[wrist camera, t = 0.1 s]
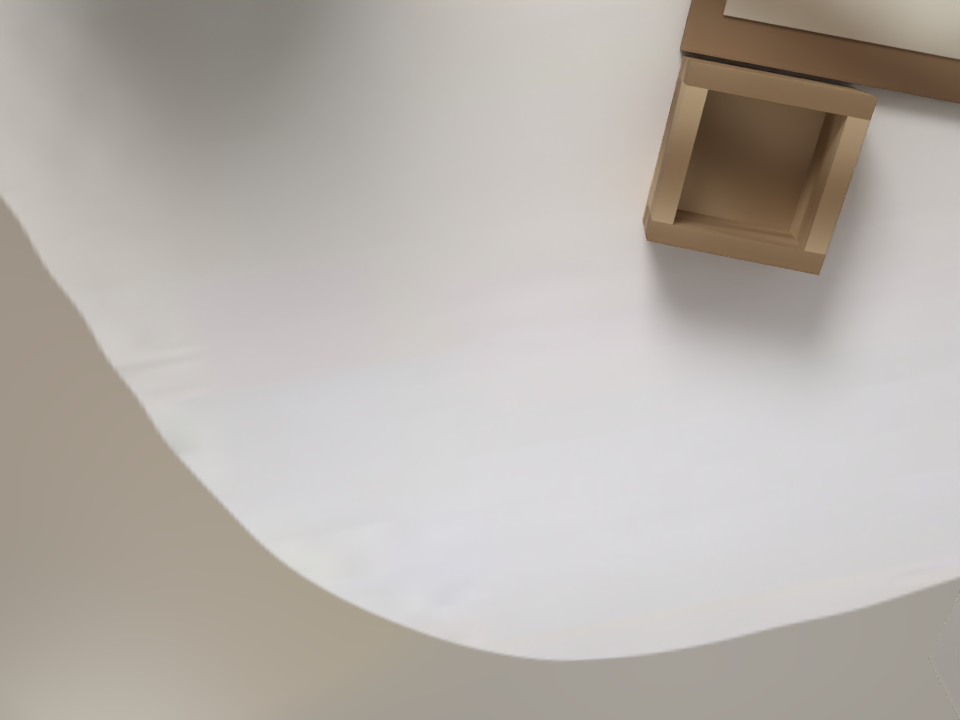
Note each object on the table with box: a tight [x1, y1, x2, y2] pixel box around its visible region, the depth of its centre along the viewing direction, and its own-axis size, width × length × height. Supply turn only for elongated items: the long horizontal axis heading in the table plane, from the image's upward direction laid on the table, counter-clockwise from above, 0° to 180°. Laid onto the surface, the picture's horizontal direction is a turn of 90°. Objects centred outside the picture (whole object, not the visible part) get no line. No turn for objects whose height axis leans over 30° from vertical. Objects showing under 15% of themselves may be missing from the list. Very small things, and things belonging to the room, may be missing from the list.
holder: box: [643, 56, 878, 275], centre depth 35 cm, size 7×7×3 cm
